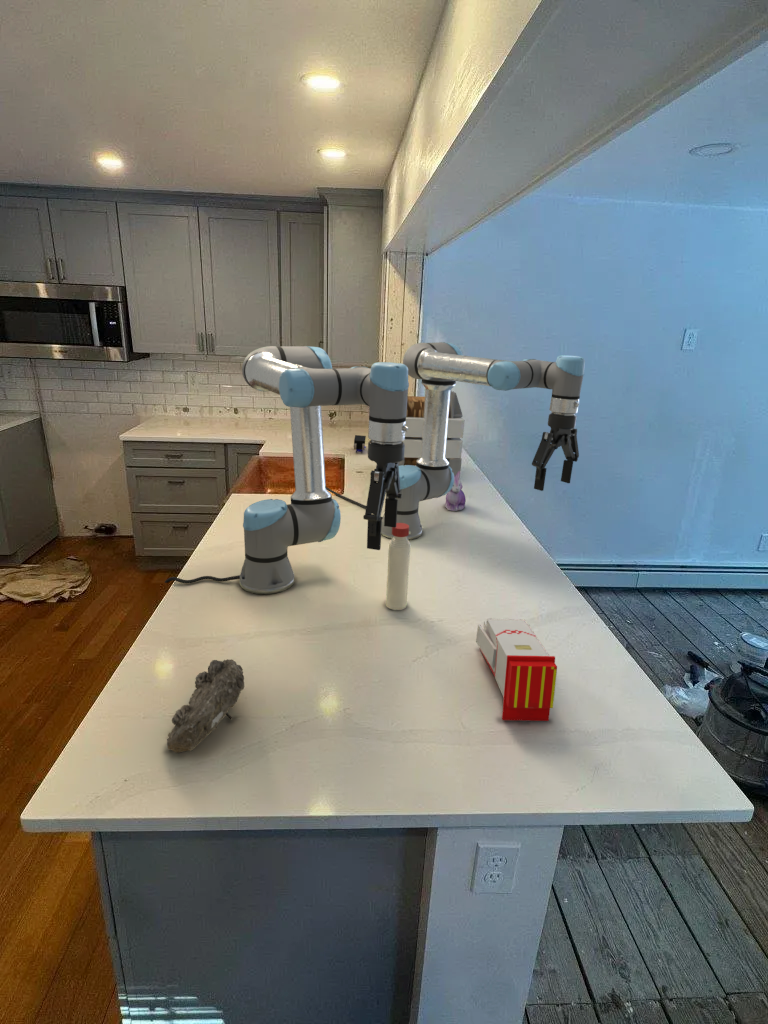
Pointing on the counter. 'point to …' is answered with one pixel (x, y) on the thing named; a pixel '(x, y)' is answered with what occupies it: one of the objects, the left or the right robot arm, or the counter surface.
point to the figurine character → (359, 443)
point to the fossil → (206, 705)
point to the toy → (519, 668)
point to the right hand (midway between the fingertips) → (552, 485)
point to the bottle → (397, 573)
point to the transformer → (416, 430)
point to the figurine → (455, 495)
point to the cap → (400, 530)
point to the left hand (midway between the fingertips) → (382, 537)
